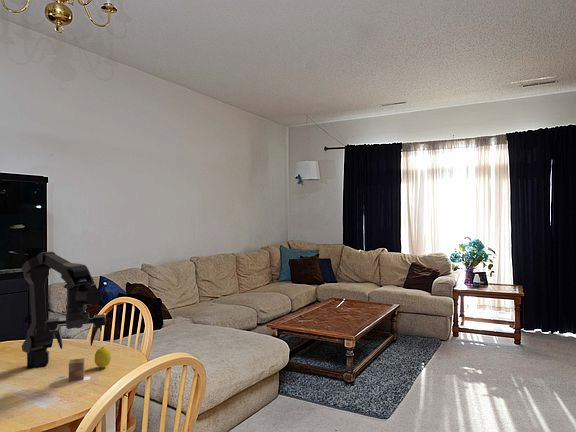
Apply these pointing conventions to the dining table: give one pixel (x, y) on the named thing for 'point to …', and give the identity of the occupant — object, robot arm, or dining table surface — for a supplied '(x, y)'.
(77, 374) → the walnut block
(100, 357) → the lemon
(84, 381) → the envelope
